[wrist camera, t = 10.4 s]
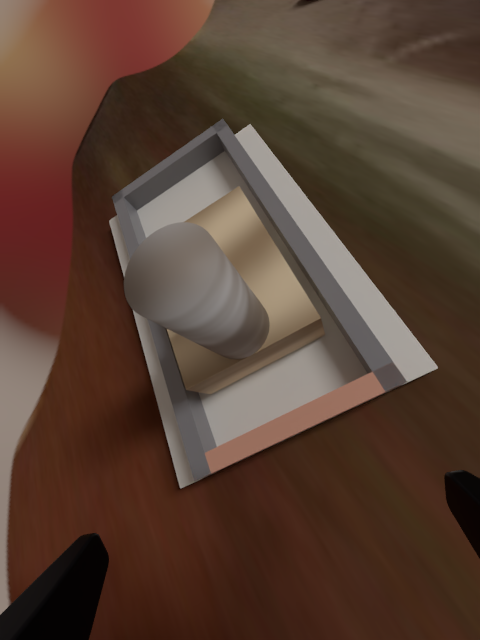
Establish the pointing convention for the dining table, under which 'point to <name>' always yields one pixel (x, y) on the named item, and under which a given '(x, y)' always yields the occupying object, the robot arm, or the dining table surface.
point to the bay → (316, 280)
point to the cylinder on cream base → (221, 294)
